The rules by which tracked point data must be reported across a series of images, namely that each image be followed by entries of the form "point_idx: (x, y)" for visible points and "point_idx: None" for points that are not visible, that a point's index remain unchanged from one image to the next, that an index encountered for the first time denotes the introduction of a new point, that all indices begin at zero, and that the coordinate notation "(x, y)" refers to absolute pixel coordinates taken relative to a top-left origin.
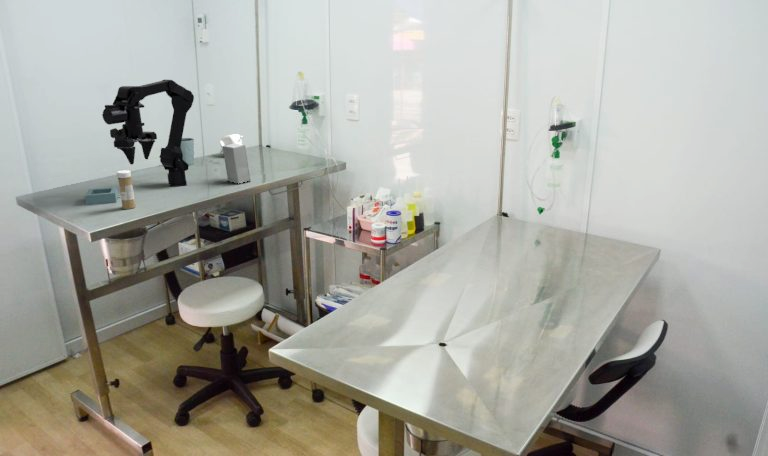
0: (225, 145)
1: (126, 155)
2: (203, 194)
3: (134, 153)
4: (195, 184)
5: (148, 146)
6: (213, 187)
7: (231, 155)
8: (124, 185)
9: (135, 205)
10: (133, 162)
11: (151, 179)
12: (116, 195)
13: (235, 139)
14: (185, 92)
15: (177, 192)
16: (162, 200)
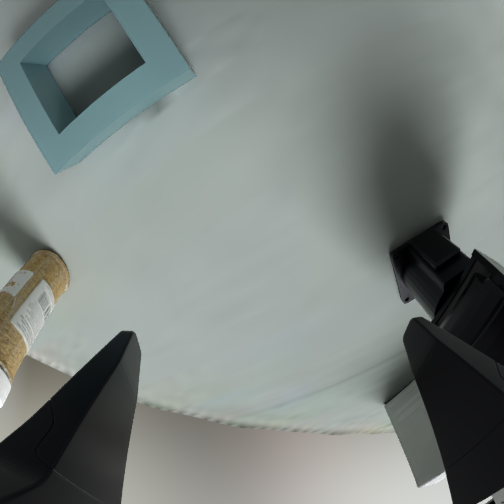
0: None
1: (47, 417)
2: (279, 396)
3: (115, 489)
4: (411, 317)
5: (457, 460)
6: (363, 379)
7: (420, 462)
8: None
9: (63, 292)
10: (133, 375)
11: (490, 105)
12: (102, 136)
13: None
14: None
15: (299, 325)
16: (173, 333)
